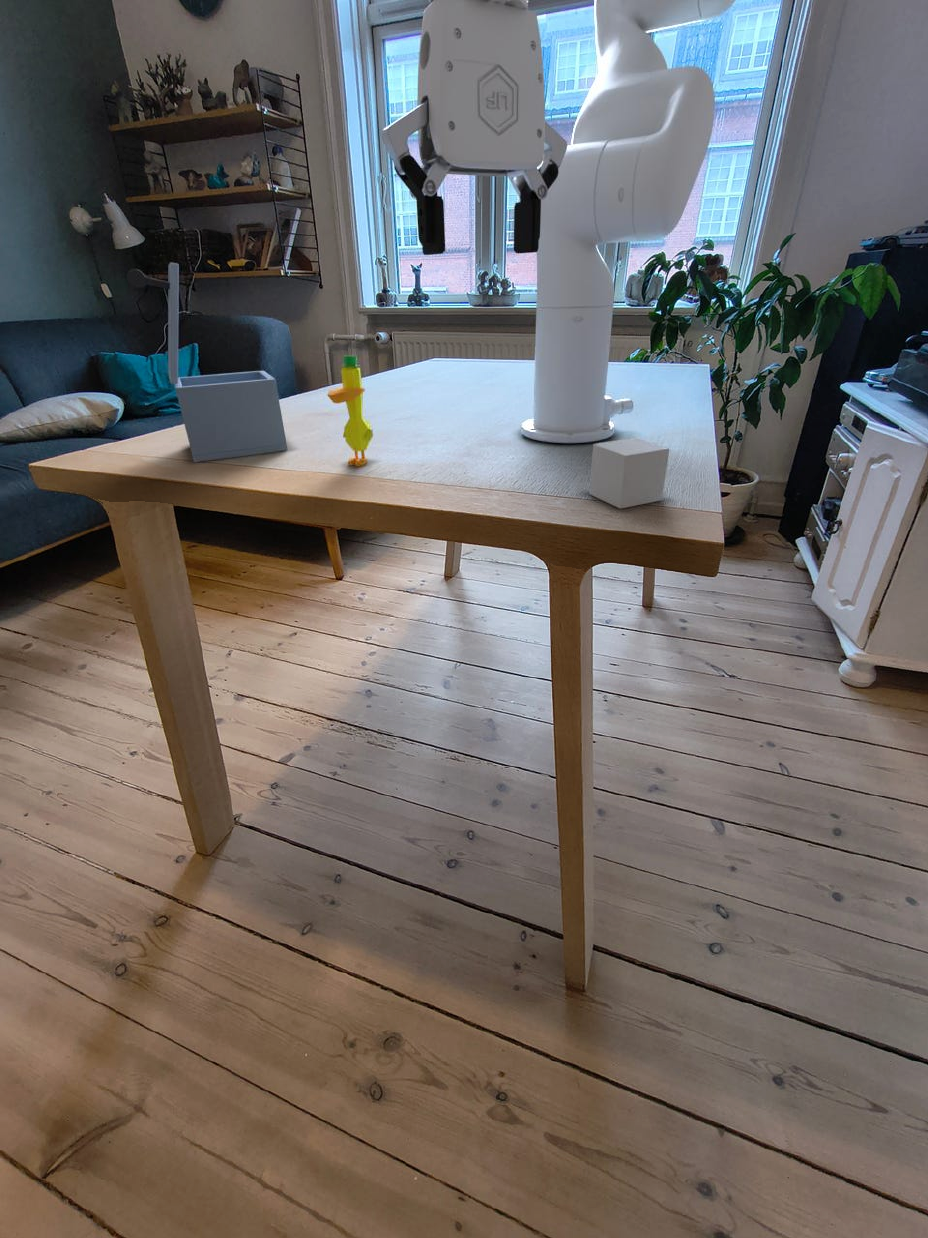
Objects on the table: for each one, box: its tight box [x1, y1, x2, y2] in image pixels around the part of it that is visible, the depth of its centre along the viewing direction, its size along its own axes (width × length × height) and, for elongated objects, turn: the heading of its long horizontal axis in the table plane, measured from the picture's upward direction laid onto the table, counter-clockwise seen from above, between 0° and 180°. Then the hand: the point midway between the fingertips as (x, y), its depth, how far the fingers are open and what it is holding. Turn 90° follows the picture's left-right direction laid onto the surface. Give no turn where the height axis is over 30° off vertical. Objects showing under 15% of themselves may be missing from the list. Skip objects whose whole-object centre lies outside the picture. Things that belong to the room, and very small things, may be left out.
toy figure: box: [326, 355, 374, 467], centre depth 68 cm, size 7×4×12 cm, turn 153°
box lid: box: [126, 262, 180, 385], centre depth 70 cm, size 12×10×5 cm
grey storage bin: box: [173, 370, 288, 463], centre depth 78 cm, size 12×10×9 cm
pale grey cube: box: [588, 437, 670, 510], centre depth 57 cm, size 5×5×5 cm
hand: (481, 253), depth 54 cm, fingers open, 9 cm apart
